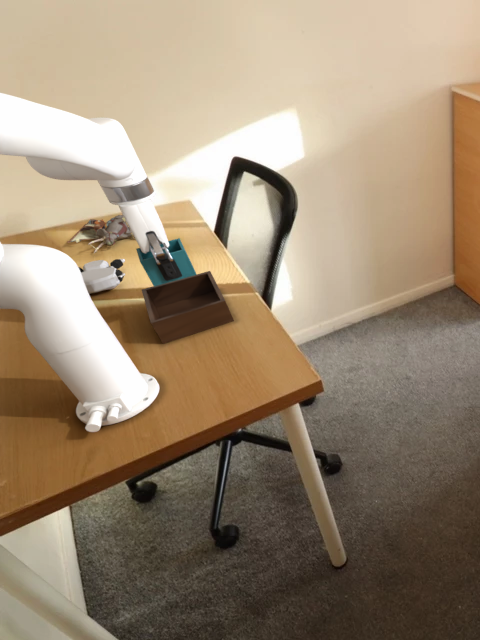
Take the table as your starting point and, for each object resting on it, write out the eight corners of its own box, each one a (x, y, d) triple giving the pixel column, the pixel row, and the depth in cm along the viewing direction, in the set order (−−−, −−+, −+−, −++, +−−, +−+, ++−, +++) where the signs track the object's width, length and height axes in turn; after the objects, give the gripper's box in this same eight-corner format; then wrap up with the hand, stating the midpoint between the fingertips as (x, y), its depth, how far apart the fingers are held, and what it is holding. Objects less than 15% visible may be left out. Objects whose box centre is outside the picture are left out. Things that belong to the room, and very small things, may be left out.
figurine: (122, 234, 127) (49, 242, 123) (134, 253, 131) (63, 262, 127) (141, 201, 141) (75, 207, 137) (151, 219, 145) (88, 226, 141)
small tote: (191, 262, 105) (179, 238, 101) (196, 274, 101) (184, 250, 97) (149, 273, 101) (136, 248, 98) (154, 286, 98) (139, 261, 94)
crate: (234, 320, 107) (225, 300, 103) (163, 344, 100) (150, 323, 96) (218, 290, 116) (210, 270, 113) (152, 309, 110) (141, 289, 106)
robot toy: (76, 279, 120) (66, 305, 110) (65, 263, 118) (55, 288, 107) (132, 267, 125) (129, 291, 115) (124, 252, 123) (119, 274, 112)
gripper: (101, 179, 93) (145, 259, 104) (109, 210, 82) (157, 295, 94) (145, 172, 96) (183, 249, 108) (158, 200, 86) (198, 283, 97)
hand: (170, 270), depth 101 cm, fingers closed on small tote, 6 cm apart
